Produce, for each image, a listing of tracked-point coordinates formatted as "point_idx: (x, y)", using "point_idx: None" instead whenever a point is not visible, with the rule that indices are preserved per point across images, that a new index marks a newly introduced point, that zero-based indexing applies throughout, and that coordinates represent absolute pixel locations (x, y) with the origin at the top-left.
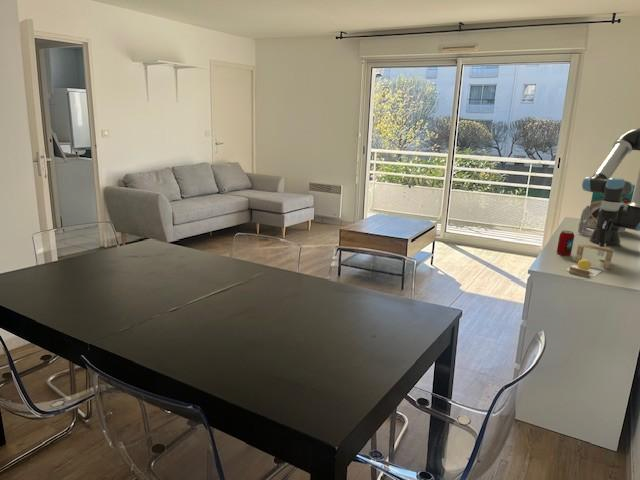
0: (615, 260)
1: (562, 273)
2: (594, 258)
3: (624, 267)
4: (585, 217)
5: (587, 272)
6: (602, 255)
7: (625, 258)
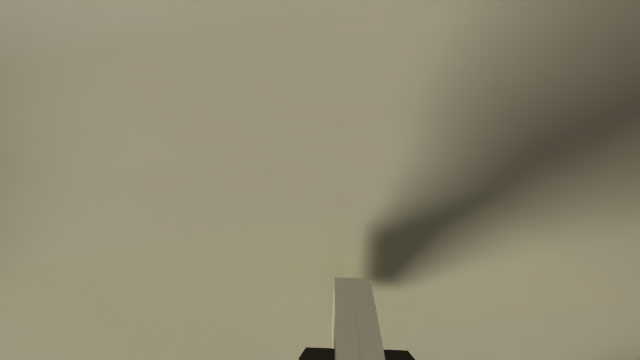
0: (262, 147)
1: None
2: None
3: (529, 2)
4: None
5: None
6: (371, 289)
7: (49, 74)
